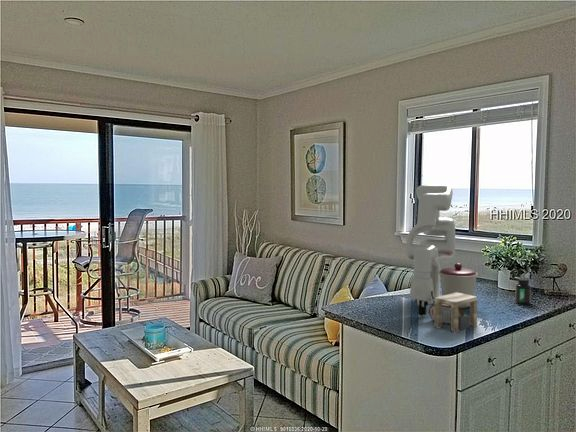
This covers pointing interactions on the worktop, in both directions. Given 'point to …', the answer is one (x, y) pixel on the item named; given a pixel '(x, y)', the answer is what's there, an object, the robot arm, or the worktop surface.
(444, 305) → the tin
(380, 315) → the worktop surface
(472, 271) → the canister
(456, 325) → the small wooden stool
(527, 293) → the supplement bottle
